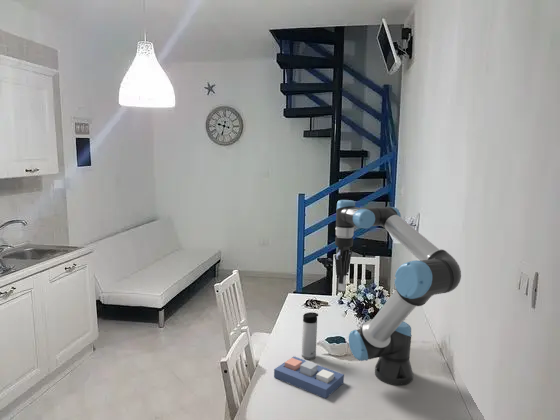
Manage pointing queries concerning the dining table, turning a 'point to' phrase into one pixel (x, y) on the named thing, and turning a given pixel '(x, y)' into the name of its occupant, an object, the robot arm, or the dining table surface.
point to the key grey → (308, 368)
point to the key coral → (293, 364)
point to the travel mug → (309, 335)
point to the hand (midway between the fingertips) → (341, 290)
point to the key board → (309, 380)
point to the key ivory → (325, 376)
